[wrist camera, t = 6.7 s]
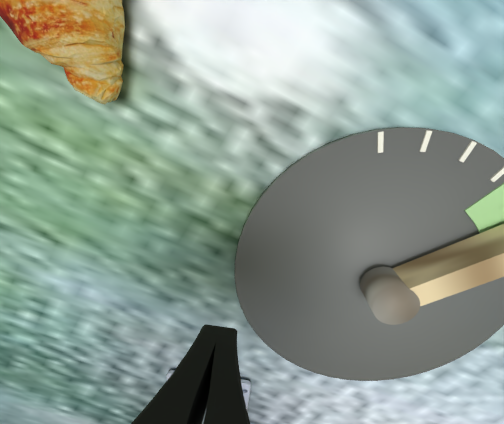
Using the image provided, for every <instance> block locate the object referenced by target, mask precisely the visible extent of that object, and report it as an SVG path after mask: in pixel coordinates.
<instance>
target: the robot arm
mask: <svg viewBox="0 0 504 424" xmlns="http://www.w3.org/2000/svg"><path fill="white" fill-rule="evenodd" d="M166 377H167V381H166V383H165V384H164V385H163V387H162V388H161V389H160V390H159V392H158V393H157V394H156V395H155V397H154V398H153V399H152V400H151V402H150V403H149V404H148V405H147V406H146V407H145V409H144V410H143V411H142V412H141V413H140V414H139V415H138V417H137V418H136V419H135V420H134V421H133V422H132V423H131V424H250V421H249V417H248V413H247V409H248V402H249V395H250V389H251V383H250V381H248V380H243V379H241V378H240V372H239V365H238V356H237V330H236V329H233V328H226V327H219V326H212V325H204V326H203V327H202V329H201V331H200V333H199V334H198V336H197V338H196V340H195V341H194V343H193V345H192V346H191V348H190V349H189V351H188V352H187V354H186V355H185V357H184V358H183V360H182V361H181V362H180V364H179V365H178V367H177V368H176V370H170V371H169V372H168V373H167V376H166Z"/></svg>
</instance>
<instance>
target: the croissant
mask: <svg viewBox="0 0 504 424" xmlns="http://www.w3.org/2000/svg"><path fill="white" fill-rule="evenodd" d="M0 16H1V17H2V19H3V20H4V21H5V22H6V24H7V25H8V26H9V27H10V29H11V30H12V31H13V33H14V34H15V35H16V37H17V38H18V39H19V41H20V42H21V43H22V44H23V45H24V46H25V47H27V48H29V49H31V50H32V51H34V52H36V53H40V54H41V55H42V56H43V57H45V58H46V59H47V60H48V61H49V62H50V63H51V64H55V65H59V66H62V67H64V70H65V73H66V76H67V79H68V81H69V82H70V83H71V84H72V85H73V87H74V89H75V90H76V91H78V92H80V93H82V94H84V95H86V96H88V97H89V98H91V99H94V100H96V101H97V102H99V103H102V104H106V103H107V102H111V101H112V100H113V101H115V100H117V98H118V96H119V93H120V91H121V87H122V83H123V80H122V77H121V75H122V71H123V66H124V65H123V63H122V61H121V59H122V48H123V37H124V31H125V20H124V10H123V6H122V0H0Z"/></svg>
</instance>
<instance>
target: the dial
mask: <svg viewBox="0 0 504 424" xmlns="http://www.w3.org/2000/svg"><path fill="white" fill-rule="evenodd" d="M502 224H504V158H503V157H501V156H500V155H499V154H498V153H496V152H495V151H494V150H492V149H490V148H488V147H486V146H484V145H482V144H480V143H478V142H477V141H475V140H472V139H469V138H466V137H463V136H460V135H457V134H454V133H450V132H444V131H439V130H433V129H426V128H404V127H396V128H385V129H375V130H370V131H366V132H361V133H357V134H352V135H349V136H347V137H344V138H341V139H338V140H335V141H333V142H330V143H328V144H326V145H324V146H322V147H320V148H318V149H316V150H314V151H312V152H310V153H309V154H307V155H306V156H304V157H303V158H301V159H300V160H298V161H297V162H295V163H294V164H292V165H291V166H290V167H289V168H287V169H286V170H285V171H284V172H283V173H282V174H280V175H279V176H278V177H277V178H276V179H275V180H274V181H273V182H272V183H271V184H270V186H269V187H268V188H267V189H266V190H265V191H264V192H263V193H262V195H261V196H260V198H259V199H258V201H257V202H256V204H255V205H254V207H253V208H252V210H251V212H250V214H249V216H248V218H247V220H246V222H245V224H244V227H243V230H242V233H241V236H240V239H239V243H238V247H237V253H236V259H235V284H236V291H237V295H238V299H239V302H240V305H241V308H242V310H243V312H244V314H245V317H246V319H247V321H248V322H249V324H250V325H251V327H252V328H253V330H254V331H255V332H256V334H257V335H258V336H259V337H260V338H261V339H262V340H263V342H264V343H266V344H267V345H268V346H269V347H270V348H271V349H272V350H274V351H275V352H276V353H277V354H279V355H280V356H282V357H283V358H285V359H286V360H288V361H290V362H292V363H294V364H296V365H297V366H299V367H302V368H304V369H307V370H309V371H312V372H314V373H318V374H321V375H325V376H329V377H334V378H340V379H346V380H358V381H378V380H389V379H396V378H402V377H408V376H412V375H416V374H419V373H423V372H427V371H429V370H432V369H435V368H438V367H440V366H443V365H445V364H447V363H449V362H452V361H454V360H456V359H458V358H460V357H461V356H463V355H465V354H467V353H468V352H470V351H472V350H473V349H475V348H476V347H478V346H479V345H480V344H482V343H483V342H485V341H486V340H487V339H489V338H490V337H491V336H492V335H493V334H494V333H495V332H497V331H498V330H499V329H500V328H501V327H502V326H503V325H504V277H501V278H499V279H496V280H493V281H490V282H487V283H485V284H482V285H479V286H476V287H473V288H471V289H468V290H465V291H462V292H459V293H457V294H454V295H451V296H448V297H445V298H443V299H440V300H437V301H434V302H431V303H429V304H426V305H423V306H420V309H419V311H418V313H417V314H416V315H415V316H414V317H413V318H412V319H411V320H409V321H407V322H405V323H402V324H397V325H390V324H385V323H382V322H381V321H379V320H378V319H377V318H376V317H375V315H374V313H373V312H372V310H371V308H370V306H369V304H368V302H367V300H366V298H365V297H364V295H363V293H362V291H361V288H360V282H361V279H362V277H363V276H364V274H365V273H367V272H368V271H369V270H371V269H373V268H376V267H390V268H395V267H397V266H400V265H402V264H405V263H407V262H410V261H412V260H415V259H417V258H420V257H422V256H425V255H427V254H430V253H432V252H435V251H437V250H440V249H442V248H445V247H447V246H450V245H452V244H455V243H457V242H460V241H462V240H465V239H467V238H470V237H472V236H475V235H477V234H480V233H482V232H485V231H487V230H490V229H492V228H495V227H497V226H500V225H502Z"/></svg>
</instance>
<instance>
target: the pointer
mask: <svg viewBox="0 0 504 424" xmlns="http://www.w3.org/2000/svg"><path fill="white" fill-rule="evenodd" d="M501 277H504V224H502V225H500V226H497V227H495V228H492V229H490V230H487V231H485V232H482V233H480V234H477V235H475V236H472V237H470V238H467V239H465V240H462V241H460V242H457V243H455V244H452V245H450V246H447V247H445V248H442V249H440V250H437V251H435V252H432V253H430V254H427V255H425V256H422V257H420V258H417V259H415V260H412V261H410V262H407V263H405V264H402V265H400V266H397V267H395V268H390V267H376V268H373V269H371V270H369V271H368V272H367V273H365V274H364V276H363V277H362V279H361V282H360V288H361V291H362V293H363V295H364V297H365V298H366V300H367V302H368V304H369V306H370V308H371V310H372V312H373V313H374V315H375V317H376V318H377V319H378V320H379V321H381V322H382V323H385V324H390V325H397V324H402V323H405V322H407V321H409V320H411V319H412V318H413V317H414V316H415V315H416V314H417V313H418V311H419V309H420V306H423V305H426V304H429V303H431V302H434V301H437V300H440V299H443V298H445V297H448V296H451V295H454V294H457V293H459V292H462V291H465V290H468V289H471V288H473V287H476V286H479V285H482V284H485V283H487V282H490V281H493V280H496V279H499V278H501Z"/></svg>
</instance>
